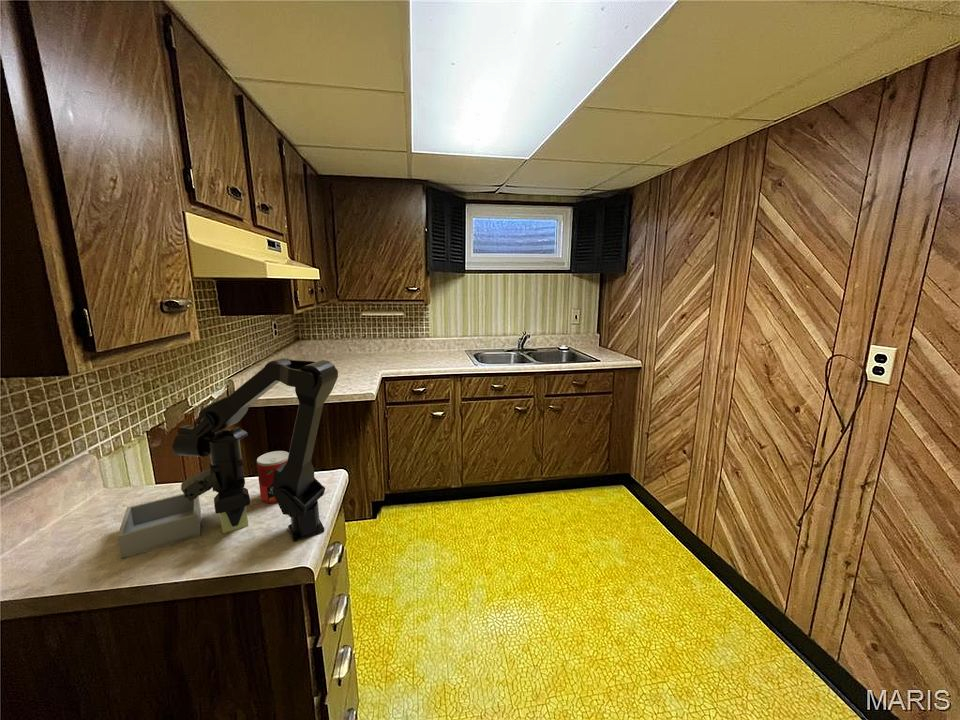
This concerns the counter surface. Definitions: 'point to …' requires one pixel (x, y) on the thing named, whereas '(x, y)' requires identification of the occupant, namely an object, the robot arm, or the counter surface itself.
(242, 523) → the green block
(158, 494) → the counter surface
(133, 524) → the grey bin
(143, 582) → the counter surface
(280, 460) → the canned food
